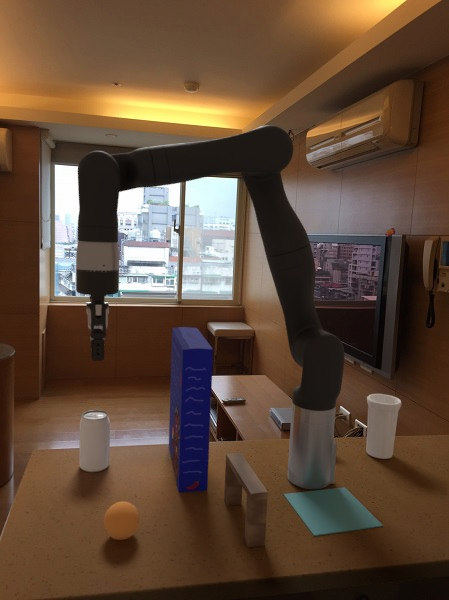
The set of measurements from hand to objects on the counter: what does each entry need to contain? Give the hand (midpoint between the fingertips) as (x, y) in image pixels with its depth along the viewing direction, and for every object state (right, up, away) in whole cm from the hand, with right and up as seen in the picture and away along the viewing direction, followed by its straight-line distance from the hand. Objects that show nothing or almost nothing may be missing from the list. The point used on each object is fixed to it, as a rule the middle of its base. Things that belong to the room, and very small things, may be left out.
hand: (97, 354), depth 90 cm
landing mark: (+44, -31, +5) cm, 54 cm away
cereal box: (+15, -28, +20) cm, 37 cm away
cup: (+62, -28, +30) cm, 75 cm away
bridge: (+27, -31, 0) cm, 41 cm away
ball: (+6, -28, -7) cm, 29 cm away
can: (-5, -27, +18) cm, 33 cm away
